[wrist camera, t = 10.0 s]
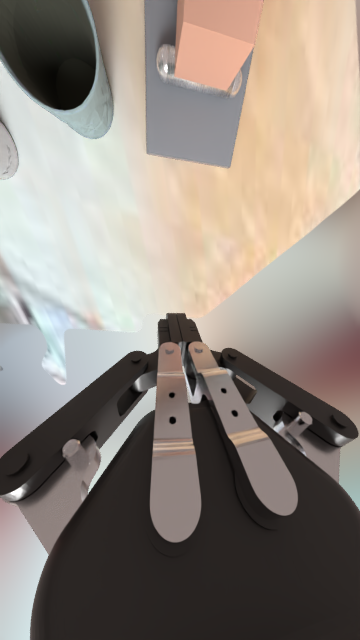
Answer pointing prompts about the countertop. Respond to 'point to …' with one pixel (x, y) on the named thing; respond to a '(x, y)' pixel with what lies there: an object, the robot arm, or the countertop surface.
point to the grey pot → (58, 61)
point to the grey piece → (186, 103)
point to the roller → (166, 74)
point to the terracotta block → (214, 39)
